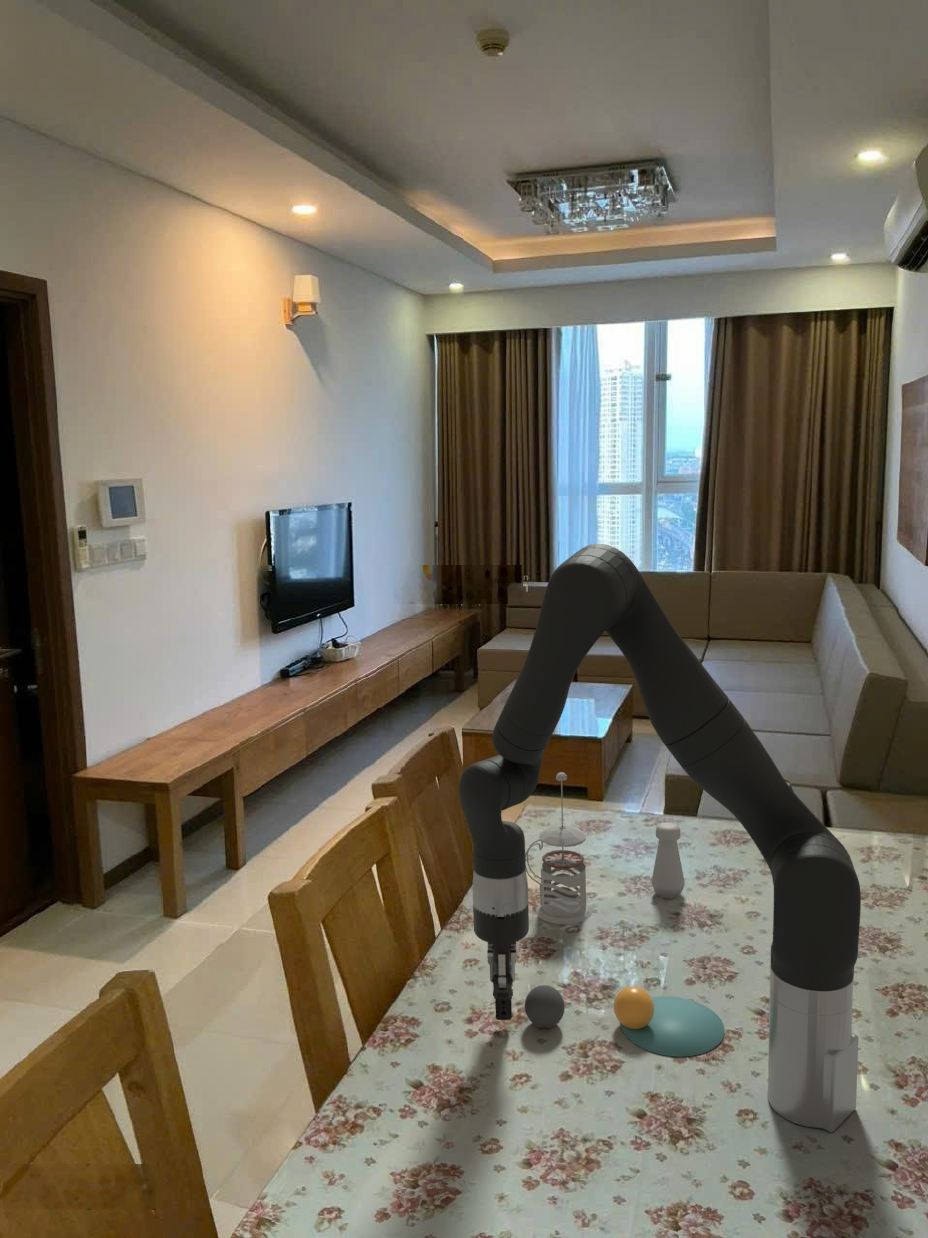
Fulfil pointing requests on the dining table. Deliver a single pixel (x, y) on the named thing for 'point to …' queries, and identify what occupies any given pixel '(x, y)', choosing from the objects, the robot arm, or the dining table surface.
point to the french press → (562, 874)
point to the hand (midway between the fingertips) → (503, 1017)
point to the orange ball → (634, 1007)
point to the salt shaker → (668, 863)
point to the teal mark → (678, 1028)
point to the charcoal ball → (544, 1006)
